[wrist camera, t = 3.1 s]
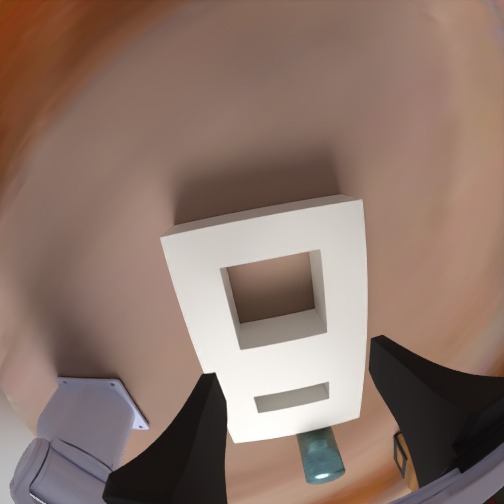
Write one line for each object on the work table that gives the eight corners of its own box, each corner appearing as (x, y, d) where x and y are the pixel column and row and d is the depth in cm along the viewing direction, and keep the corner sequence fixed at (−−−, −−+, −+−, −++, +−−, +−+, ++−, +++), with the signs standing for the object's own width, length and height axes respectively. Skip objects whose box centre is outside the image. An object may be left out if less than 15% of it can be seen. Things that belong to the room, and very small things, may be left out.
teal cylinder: (297, 440, 26) (306, 487, 20) (294, 423, 25) (305, 474, 18) (329, 433, 26) (344, 477, 20) (330, 415, 25) (346, 463, 18)
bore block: (234, 417, 24) (234, 443, 21) (173, 225, 18) (160, 237, 15) (348, 393, 24) (359, 417, 21) (341, 194, 18) (362, 199, 15)
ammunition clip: (393, 435, 28) (422, 495, 17) (404, 429, 28) (435, 487, 17) (394, 458, 31) (415, 508, 20) (403, 454, 31) (426, 502, 20)
